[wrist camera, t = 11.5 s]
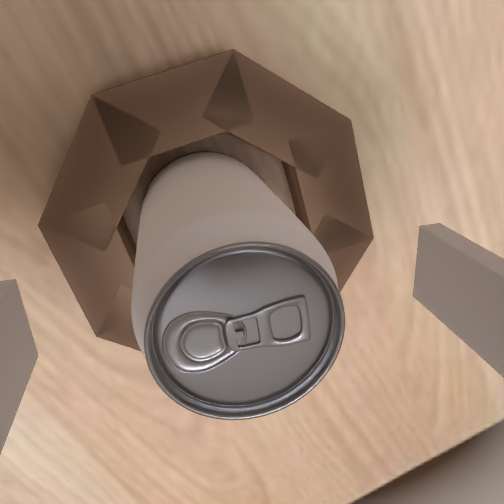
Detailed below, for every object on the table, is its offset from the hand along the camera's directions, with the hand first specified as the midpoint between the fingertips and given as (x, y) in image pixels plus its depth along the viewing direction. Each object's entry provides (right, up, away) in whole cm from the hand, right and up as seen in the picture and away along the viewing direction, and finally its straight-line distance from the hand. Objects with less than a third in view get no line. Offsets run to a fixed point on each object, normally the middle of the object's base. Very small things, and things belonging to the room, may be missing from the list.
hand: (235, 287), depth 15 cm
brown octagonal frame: (-1, +3, +9) cm, 9 cm away
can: (-2, +3, +9) cm, 9 cm away
